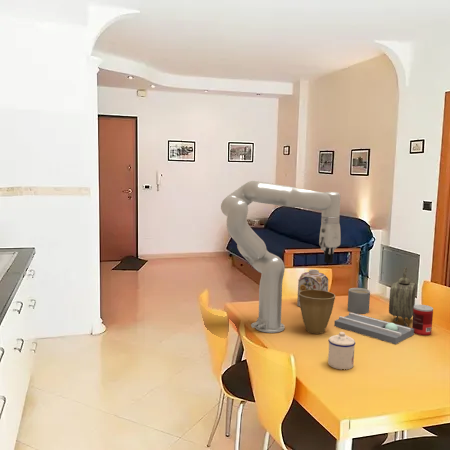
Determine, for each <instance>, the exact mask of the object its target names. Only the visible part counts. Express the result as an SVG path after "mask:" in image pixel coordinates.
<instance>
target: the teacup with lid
mask: <svg viewBox="0 0 450 450" xmlns="http://www.w3.org/2000/svg"><path fill="white" fill-rule="evenodd" d="M327 342H328V356H327V358H328V360H327V362H328V365H329V366H330V367H332V368H333V369H336V370H342V369H344V371H345V369H346V370H349V369H350V370H351V369H352V368H353V367H354V366H355V365H354V362H355V361H354V359H355V345H356V341H355V339H354V338H352V337H351V336H349V335H346V333H345V332H343V331H340V332H339V334H336V335H334V334H333V335H332V336H330V337H329V338H328V341H327Z"/></svg>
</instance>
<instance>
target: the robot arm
mask: <svg viewBox="0 0 450 450" xmlns="http://www.w3.org/2000/svg"><path fill="white" fill-rule="evenodd" d="M253 202H255V203H259V204H260V203H261V204H265V205H266V204H267V205H274V206H280V207H288V208H299V209H300V208H302V209H306V210H315V211H321V219H320V220H321V221H320V222H321V225H320V231H319V237H318V238H319V240H318V241H319V242H318V244H319V246H320V250H321V251H323V254H324V259H323V260H324V263H327V264H333V262H334V253H335V250H336V249H337V248H338V247H340V246H341V239H342V238H341V236H342V235H341V234H342V233H341V225H340V213H341V194H340V192H338V191H325V192H321V191H316V190H309V189H303V188H297V187H296V186H295V187H294V186H291V185H290V186H289V185H285V184H277V183H271V182H264V181H259V180H258V181H255V180H250V181H247V182H246V183H244V184H243V185H241V186H240V187H239V188H237V189H236V190H234V191H233V192H231V193H230V194H229V195H227V196H226V197H225V198H224V199H223V200H222V201H221V204H220V209H221V212H222V213H223V215H224V216H226V229H227V232H228V234H229V236H230V237H231V238H232V239H233V241H234V242H235V243H236V244H237V245H236V247H237V250H238V252H239V253H240V254H241V256H242V257H243V258H244V259H245V260H246V261H247V262H248V263H249V264H250V266H252V267H253V269H254V270H256V271H257V272H258V273H260V274H261V275H260V276H261V277H260V280H259V289H258V318H256V321H255V322H252V323H251V324H250V326H251V329H255V330H257V331H259V332H261V333H262V332H263V333H268V334H269V333H270V334H273V333H280V332H283V331H284V330H285V324H284V323H282V301H283V298H282V297H283V280H284V279H283V278H284V275H285V267H286V266H285V263H284V261H283V260H282V258H280V256H278V255H276V254H274V253H272V252H269V251H268V249H267V246H266V243H265V241H264V239H262V238H261V237H260V236H259V235H258V234H257V233H256V232H255V231H254V230H253V229H252V227H251V226H250V224H248V219H247V218H248V213H249V205H250V204H252V203H253Z"/></svg>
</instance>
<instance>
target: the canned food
mask: <svg viewBox="0 0 450 450" xmlns="http://www.w3.org/2000/svg"><path fill="white" fill-rule="evenodd" d="M433 318H434V308H433V307H432V306H429V305H428V304H426V305H425V304H415V305H414V307H413V316H412V320H411V321H412V325H411V328H413V329H414V335H417V336H425V337H426V336H427V337H428V336H430V335H431V334H432V331H433V320H434V319H433Z"/></svg>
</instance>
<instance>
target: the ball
mask: <svg viewBox="0 0 450 450" xmlns="http://www.w3.org/2000/svg"><path fill="white" fill-rule="evenodd" d="M396 324H397V323H394V322H390V323H388V324H387V325H386V326H385V329H389V330H392V331H398V327H397V326H396Z"/></svg>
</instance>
